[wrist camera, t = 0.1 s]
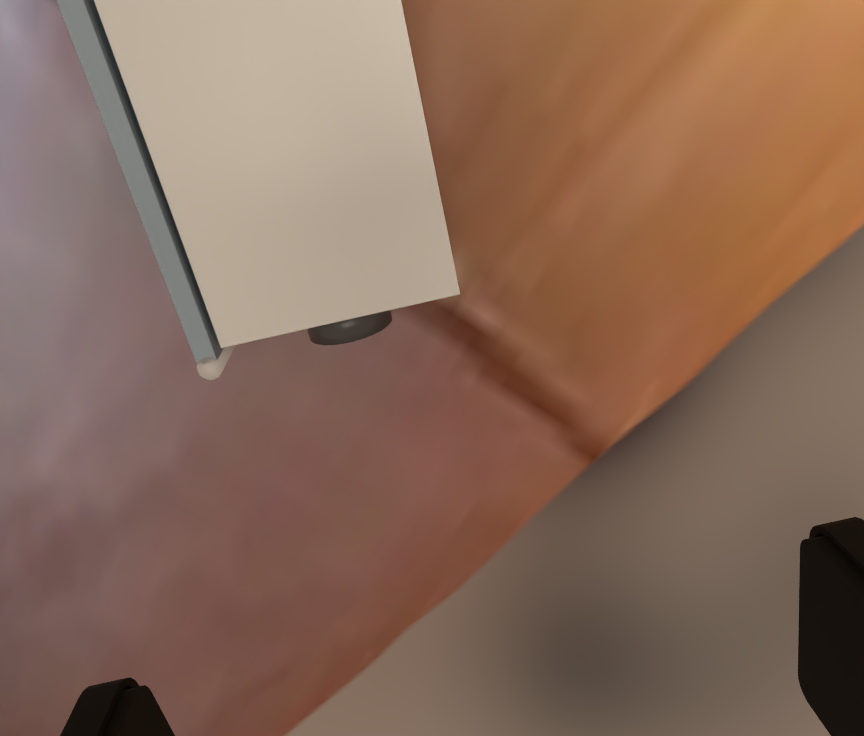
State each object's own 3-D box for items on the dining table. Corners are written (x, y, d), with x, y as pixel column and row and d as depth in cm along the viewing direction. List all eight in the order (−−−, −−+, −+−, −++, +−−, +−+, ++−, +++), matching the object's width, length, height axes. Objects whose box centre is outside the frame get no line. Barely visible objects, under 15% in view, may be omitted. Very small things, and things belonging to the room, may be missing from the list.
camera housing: (143, 1, 33) (86, -20, 26) (381, -54, 32) (383, -89, 26) (255, 329, 40) (231, 377, 33) (451, 285, 39) (465, 324, 33)
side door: (-3, -257, 28) (-114, -358, 22) (45, -269, 28) (-53, -373, 22) (215, 337, 39) (183, 386, 33) (249, 329, 39) (225, 376, 33)
